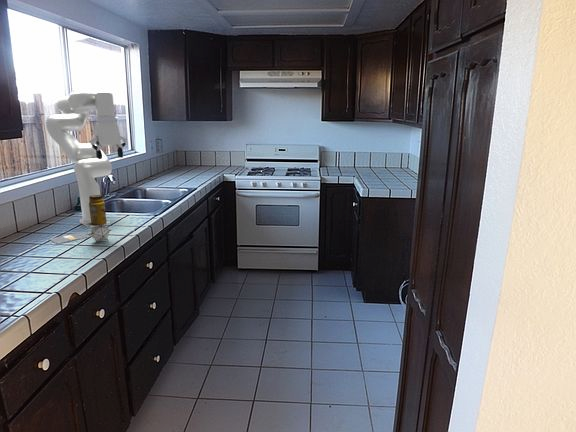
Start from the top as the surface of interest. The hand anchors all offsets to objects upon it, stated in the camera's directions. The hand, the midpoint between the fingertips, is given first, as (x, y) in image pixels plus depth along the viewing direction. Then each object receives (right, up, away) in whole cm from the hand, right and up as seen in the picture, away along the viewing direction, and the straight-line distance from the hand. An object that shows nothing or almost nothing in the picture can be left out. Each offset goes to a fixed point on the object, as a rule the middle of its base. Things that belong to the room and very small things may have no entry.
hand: (110, 158), depth 194 cm
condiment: (+1, -30, -15) cm, 34 cm away
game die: (+1, -38, -13) cm, 40 cm away
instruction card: (-15, -36, -8) cm, 40 cm away
